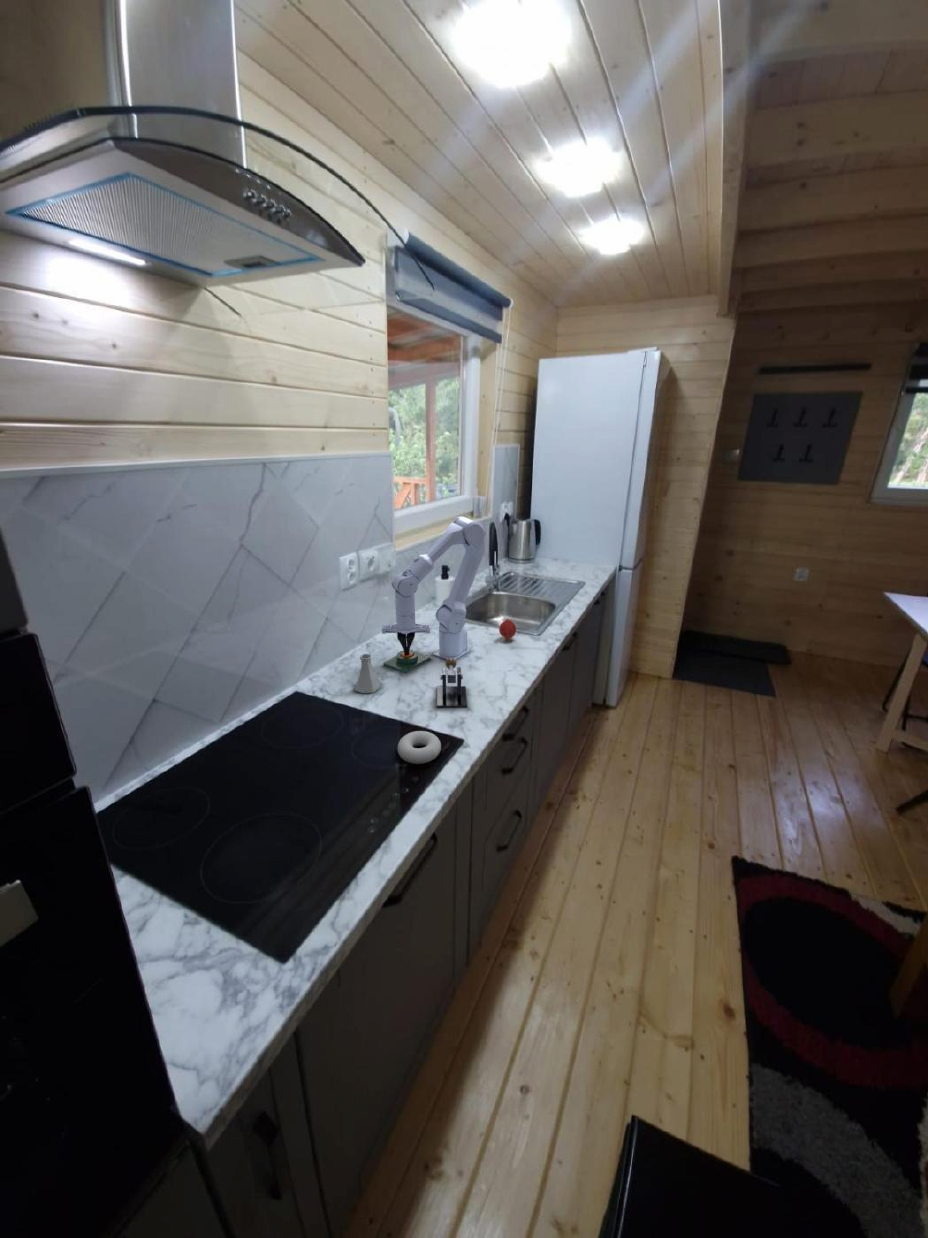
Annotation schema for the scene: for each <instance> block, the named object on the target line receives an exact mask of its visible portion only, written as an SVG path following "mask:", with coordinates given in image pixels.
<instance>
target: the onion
mask: <svg viewBox="0 0 928 1238" xmlns="http://www.w3.org/2000/svg"><path fill="white" fill-rule="evenodd" d="M498 630H499V634H500V636H501V637H503V638H504V639H505V640H507V641H509V640H510V639H512V638H513V637H514V636H515V635H516V633H517V627H516V625H515V623H514V622H513V621H512V620H510V618H506V619H505V620H503V622H501V624H500V625H499V628H498Z"/></svg>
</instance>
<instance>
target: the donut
mask: <svg viewBox="0 0 928 1238" xmlns="http://www.w3.org/2000/svg"><path fill="white" fill-rule="evenodd" d="M418 746H422V747H419V748H417V747H418ZM441 750H442V743H441V740H440V739H439V737H438V736H437V735H436V734H434V733H432V732H429V731H426V730H415V731H411V732H408V733H407V734H405V735H403V736H402V737H401V738H400V740H399V742H398V743H397V753H398V755H399V757H400V758H401V759H402V760H403V761H405V762H407V763H410V764H415V765H423V764H427V763H429V762H430V763H431V762H432V761H433V760H435V759H436V758H437V757H438V756H439V755H440V753H441Z"/></svg>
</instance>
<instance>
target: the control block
mask: <svg viewBox="0 0 928 1238" xmlns="http://www.w3.org/2000/svg"><path fill="white" fill-rule="evenodd" d="M403 652H404V650H400V651H398V652H397V653H396V656H394V657H392V658H390V659H388V660H386V661H384V662H383V667H387V668H390V669H392V670H395V671H398V672H400V673H403V674H407V673H409V672H410V671H412V670H414V669H416V668H417V667H419V666H421V665H423V664H424V663H425V662H426V663H427V662H429V661H431V656H430V655H427V654H424V653H421V652H418V651H416V650H413V649H410V652H412V653H413V656H412V657H409V658H404V657H401V654H402V653H403Z"/></svg>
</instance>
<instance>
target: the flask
mask: <svg viewBox="0 0 928 1238" xmlns="http://www.w3.org/2000/svg"><path fill="white" fill-rule="evenodd" d="M371 659H372V654H370V653H362V654H360V655H359V660H360V664H361V665H360V671H359V674H358V678H357V681H356V683H355V688H354V689H355V690H354V691H355V692H358V693H360V694H371V693H375V692H377V691H378V690H380V689H381V681H380V680H379V677H378V676H377V674H376V672H375V669H374V667H373V665H372V660H371Z"/></svg>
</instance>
